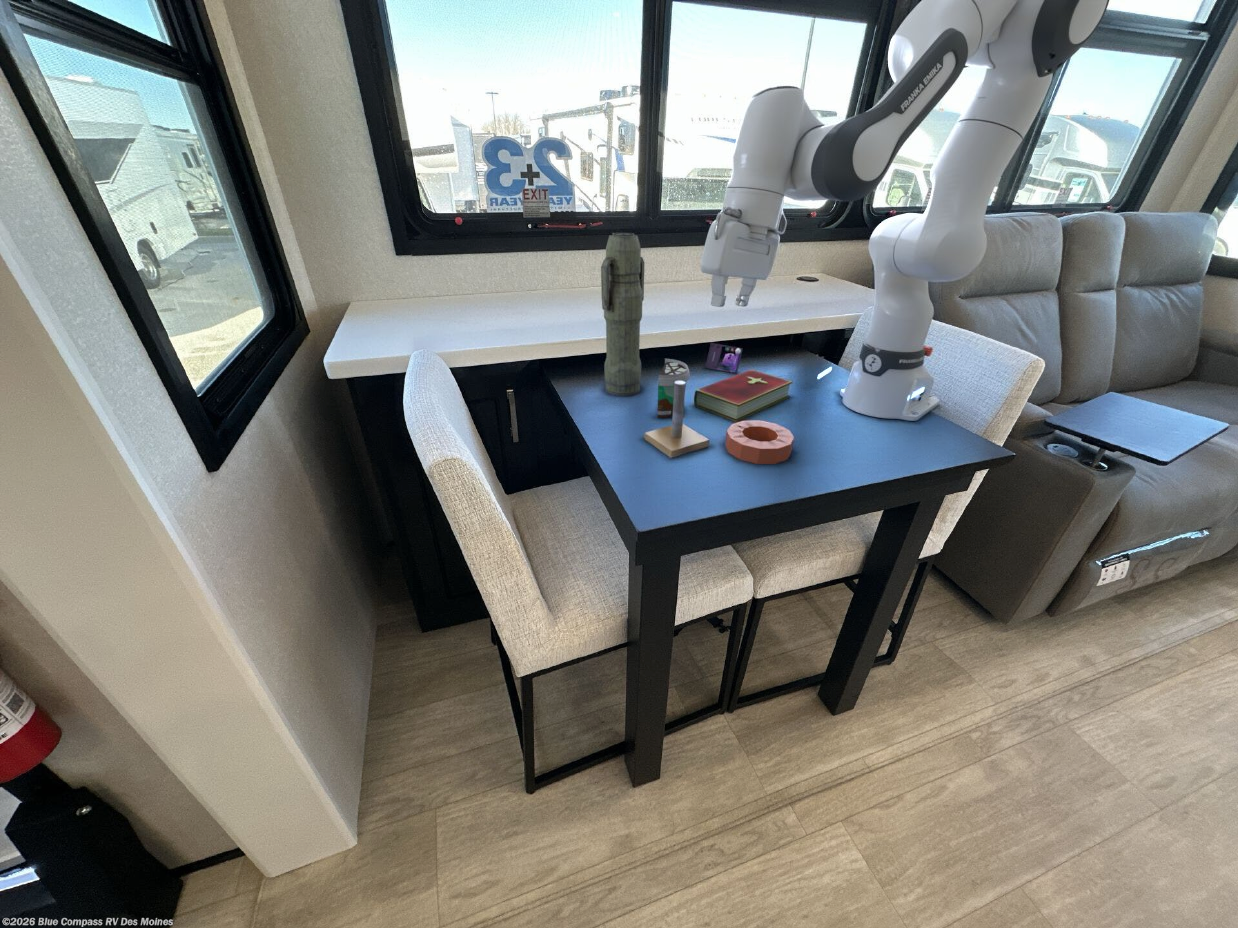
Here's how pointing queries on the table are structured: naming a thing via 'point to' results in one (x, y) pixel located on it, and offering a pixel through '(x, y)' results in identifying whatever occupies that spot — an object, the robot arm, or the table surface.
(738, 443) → the ring
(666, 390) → the food container
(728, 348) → the purple rectangular box
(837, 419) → the table surface
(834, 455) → the table surface
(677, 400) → the stand
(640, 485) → the table surface
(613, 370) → the grey-green tall cylinder
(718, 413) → the hardcover book
